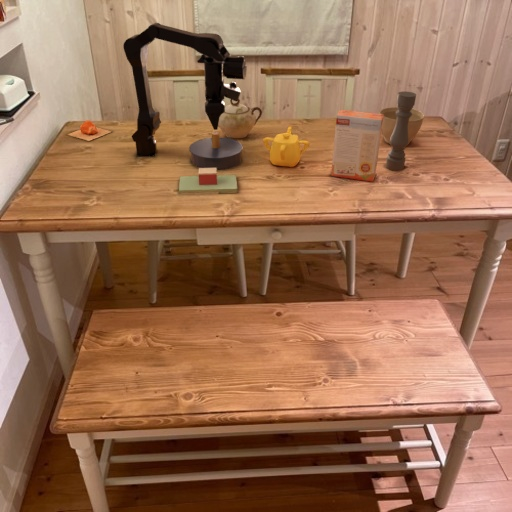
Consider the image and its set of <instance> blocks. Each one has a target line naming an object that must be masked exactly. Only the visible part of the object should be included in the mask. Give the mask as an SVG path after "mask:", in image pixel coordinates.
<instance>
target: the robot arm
mask: <svg viewBox="0 0 512 512" xmlns="http://www.w3.org/2000/svg"><path fill="white" fill-rule="evenodd" d="M156 39H157V40H160V41H165V42H167V43H173V44H176V45H180V46H183V47H187V48H191V49H193V50H194V51H196V52H198V53H199V54H201V56H200V57H199V59H198V60H197V61H196V62H197V63H198V64H203V70H204V97H205V102H204V112H205V114H206V116H207V118H208V120H209V122H210V124H211V126H212V130H214V131H217V130H219V129H218V128H219V127H218V123H219V118H220V115H221V114H223V113H224V112H225V106H226V105H225V101H224V100H225V98H227V99H229V100H231V99H232V101H234V102H238V99H239V100H240V96H241V93H242V92H241V89H240V87H237V82H235V81H232V80H246V77H247V67H248V66H247V63H246V59H245V58H246V57H245V56H244V55H238V56H234V55H231V53H230V52H229V51H228V49H227V47H226V46H225V45H224V40H223V38H222V36H221V35H219V34H217V33H210V32H202V33H201V32H200V33H199V32H198V33H197V32H192V31H188V30H185V29H180V28H176V27H172V26H168V25H164V24H161V23H159V22H154V23H152V24H150V25H148V27H147V28H146V29H144V30H143V31H142V32H141V33H139V34H138V33H137V34H134V35H132V36H130V37H129V38H127V39H125V41H124V42H123V51H124V55H125V58H126V60H127V61H128V63H129V65H130V66H131V70H132V75H133V82H134V88H135V93H136V100H137V106H138V114H137V119H136V130H135V132H134V133H132V135H131V139H132V141H133V142H134V143H135V149H136V156H135V157H136V158H147V157H155V156H156V155H157V153H158V148H157V140H155V134H156V132H157V131H158V130H159V129H160V124H162V121H161V118H160V117H161V115H160V111H155V109H154V107H153V102H152V95H151V88H150V81H149V74H148V68H147V62H148V56H149V45H150V44H151V43H153V42H154V41H155V40H156ZM223 76H224V77H226V79H231V82H229V83H225V81H224V80H225V79H224V77H223Z"/></svg>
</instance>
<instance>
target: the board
mask: <svg viewBox="0 0 512 512" xmlns="http://www.w3.org/2000/svg"><path fill="white" fill-rule="evenodd" d="M237 182H238V181H237V175H236V174H217V185H199V175H181V176H179V184H178V193H179V194H191V193H192V194H195V193H196V194H197V193H218V194H238V183H237Z"/></svg>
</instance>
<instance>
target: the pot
mask: <svg viewBox="0 0 512 512" xmlns="http://www.w3.org/2000/svg"><path fill="white" fill-rule="evenodd" d="M242 153H243V150H242V151H241V153H239V154H238V155H236V156H233V157H230V158H225V159H205V158H200V157H197V156H195V155H193V154H192V153H191V152H190V159H191V160H190V161H191V163H192V164H193V165H194V166H196V167H198V168H217V171H223V170H229V169H232V168H235V167H237V166H239V165H240V164H241V163H242V160H243V156H242V155H243V154H242Z"/></svg>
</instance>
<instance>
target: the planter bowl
mask: <svg viewBox="0 0 512 512" xmlns="http://www.w3.org/2000/svg"><path fill="white" fill-rule="evenodd" d="M396 111H398V107H397V106H390V107H385V108H382V109H381V110H380V111H379V114H383V115H384V117H383V124H382V132H381V135H382V136H383V138H384V142H386V143H387V144H389V145H390V138H391V135H392V133H393V131H394V128H395V126H396V121H397V115H396ZM410 112H411V113H412V116H411V117H410V118H409V122H408V140H409V142H408V145H409V144H411V141H412V140H413V139H414V138H415V137H416V136H417V135H418V133H419V131H420V129H421V127H422V125H423V120H424V119H425V114H424V113H423V111H420V110H418V109H415V108H412V109H411V111H410Z"/></svg>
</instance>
